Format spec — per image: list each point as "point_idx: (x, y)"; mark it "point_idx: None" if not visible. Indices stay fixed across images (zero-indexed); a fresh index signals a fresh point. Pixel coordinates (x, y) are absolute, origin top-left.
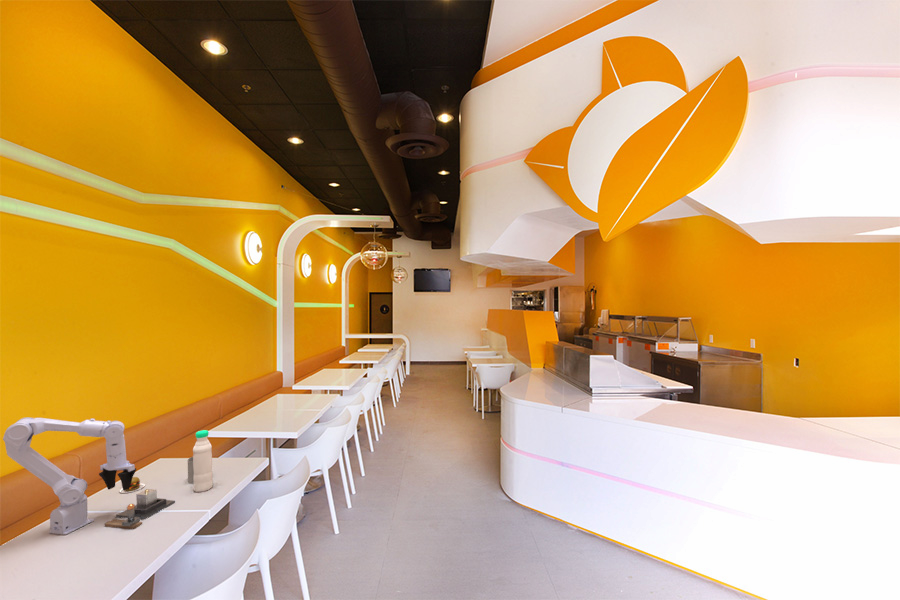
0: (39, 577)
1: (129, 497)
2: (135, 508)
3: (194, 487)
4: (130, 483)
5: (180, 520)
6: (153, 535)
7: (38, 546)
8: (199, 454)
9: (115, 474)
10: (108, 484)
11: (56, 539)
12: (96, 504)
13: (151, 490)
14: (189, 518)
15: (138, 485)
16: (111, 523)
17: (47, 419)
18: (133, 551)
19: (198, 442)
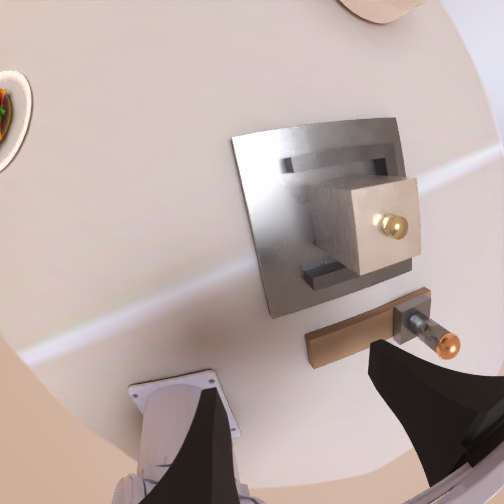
0: (383, 452)
1: (72, 170)
2: (349, 271)
3: (375, 13)
4: (406, 355)
5: (488, 218)
6: (479, 296)
7: (240, 464)
8: None
9: (215, 470)
10: (229, 448)
11: (243, 444)
12: (24, 289)
13: (398, 197)
14: (496, 201)
15: (4, 98)
16: (340, 355)
17: None
18: (476, 343)
19: None
